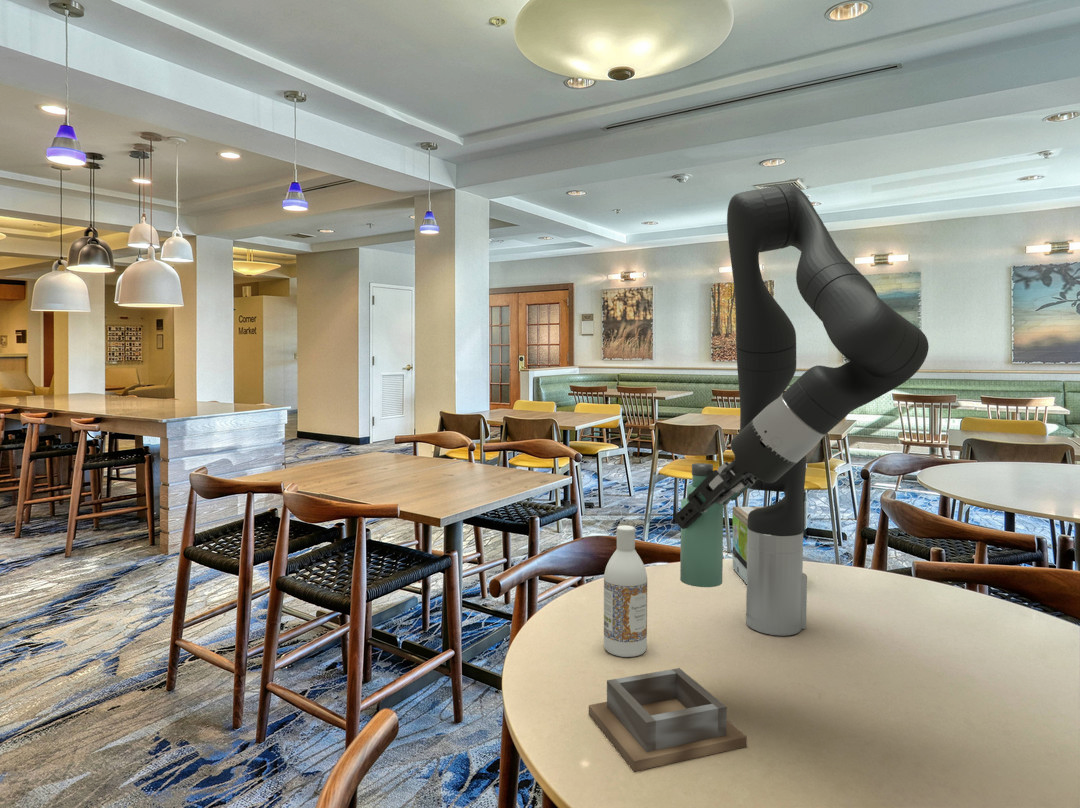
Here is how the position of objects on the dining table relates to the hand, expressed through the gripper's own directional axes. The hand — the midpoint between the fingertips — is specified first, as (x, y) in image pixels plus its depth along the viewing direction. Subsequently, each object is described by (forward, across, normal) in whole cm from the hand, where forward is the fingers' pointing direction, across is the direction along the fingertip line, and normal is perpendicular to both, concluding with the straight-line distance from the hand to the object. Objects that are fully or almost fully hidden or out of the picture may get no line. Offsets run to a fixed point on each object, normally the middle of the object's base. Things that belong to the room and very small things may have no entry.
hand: (689, 519), depth 90 cm
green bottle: (+5, 0, +7) cm, 8 cm away
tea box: (+23, -56, +10) cm, 62 cm away
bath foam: (+28, -7, +7) cm, 29 cm away
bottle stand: (+16, +10, +19) cm, 27 cm away
